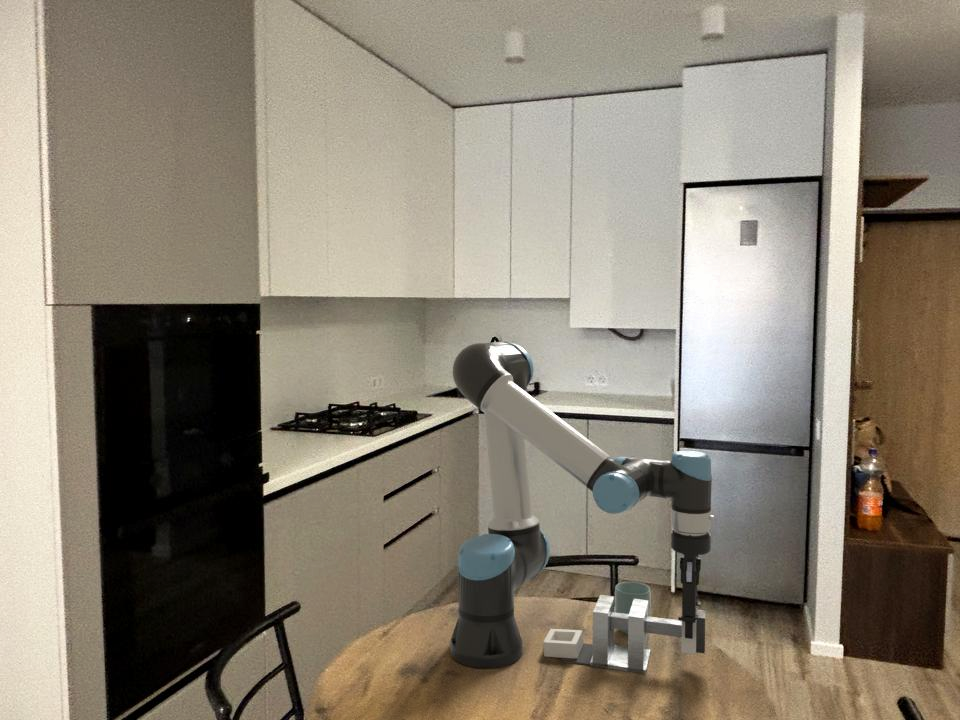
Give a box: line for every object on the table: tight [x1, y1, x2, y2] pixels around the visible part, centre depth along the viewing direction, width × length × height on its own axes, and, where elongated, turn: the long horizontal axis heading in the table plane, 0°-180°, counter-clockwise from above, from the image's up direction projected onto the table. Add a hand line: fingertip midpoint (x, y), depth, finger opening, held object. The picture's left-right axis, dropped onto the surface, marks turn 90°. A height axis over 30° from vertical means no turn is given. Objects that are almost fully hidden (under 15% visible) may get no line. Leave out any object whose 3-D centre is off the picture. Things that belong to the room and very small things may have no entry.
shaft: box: [610, 608, 706, 654], centre depth 147 cm, size 21×4×7 cm, turn 72°
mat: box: [560, 642, 593, 666], centre depth 152 cm, size 6×9×1 cm, turn 162°
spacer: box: [542, 628, 584, 659], centre depth 153 cm, size 3×7×7 cm
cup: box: [614, 581, 652, 635], centre depth 163 cm, size 8×8×10 cm
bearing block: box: [589, 594, 651, 675], centre depth 149 cm, size 11×9×11 cm
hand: (689, 645), depth 145 cm, fingers open, 6 cm apart
